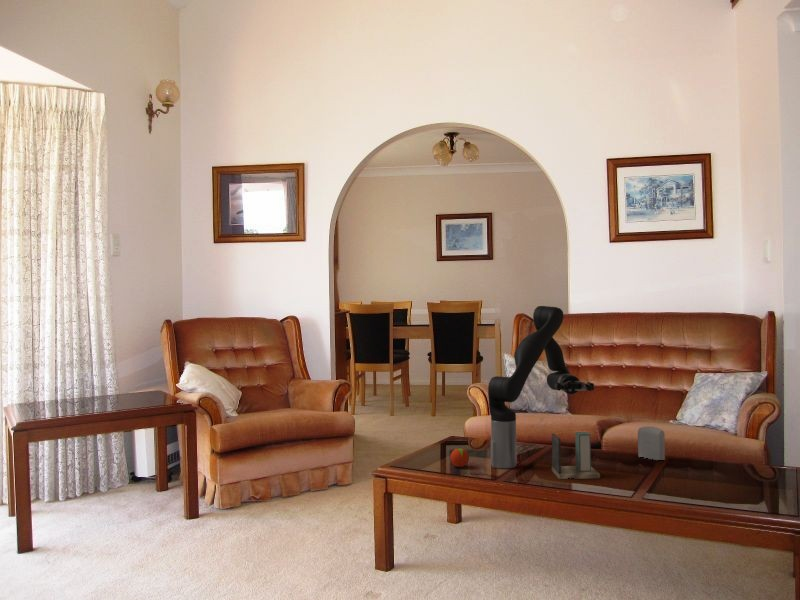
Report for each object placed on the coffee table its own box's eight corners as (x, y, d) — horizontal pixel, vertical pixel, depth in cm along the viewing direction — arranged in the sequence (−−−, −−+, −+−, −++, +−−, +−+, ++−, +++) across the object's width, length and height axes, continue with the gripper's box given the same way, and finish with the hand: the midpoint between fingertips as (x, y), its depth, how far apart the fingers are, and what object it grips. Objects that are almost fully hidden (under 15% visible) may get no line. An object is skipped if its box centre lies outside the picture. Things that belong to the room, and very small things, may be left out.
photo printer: (636, 457, 269) (635, 425, 270) (642, 455, 272) (642, 424, 272) (660, 462, 262) (660, 429, 262) (666, 460, 264) (666, 427, 264)
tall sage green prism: (579, 471, 242) (579, 434, 242) (575, 468, 247) (575, 431, 247) (591, 471, 242) (590, 434, 242) (586, 468, 247) (586, 431, 247)
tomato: (472, 469, 255) (471, 449, 255) (453, 470, 253) (453, 450, 253) (466, 464, 262) (466, 445, 262) (448, 465, 261) (448, 446, 261)
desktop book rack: (559, 478, 239) (558, 439, 239) (551, 470, 251) (551, 433, 251) (600, 478, 239) (599, 439, 239) (590, 469, 251) (589, 432, 251)
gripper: (551, 374, 281) (560, 378, 265) (586, 374, 281) (597, 378, 265) (551, 393, 281) (560, 398, 265) (586, 392, 281) (597, 398, 265)
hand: (579, 388), depth 265 cm, fingers open, 8 cm apart
